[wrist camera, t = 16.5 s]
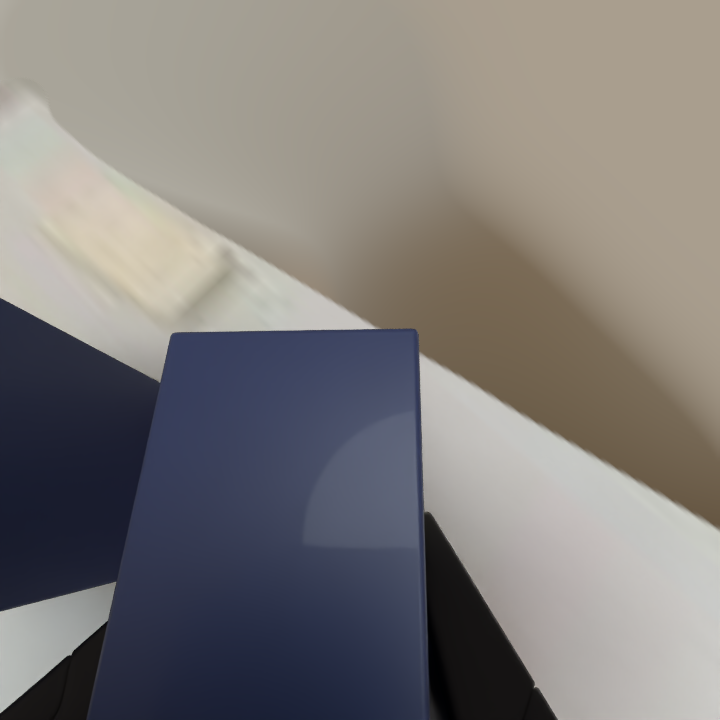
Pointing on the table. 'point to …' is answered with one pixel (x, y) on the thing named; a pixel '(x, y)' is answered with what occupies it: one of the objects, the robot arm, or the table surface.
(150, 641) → the navy book
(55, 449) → the navy books
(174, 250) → the table surface
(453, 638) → the robot arm
